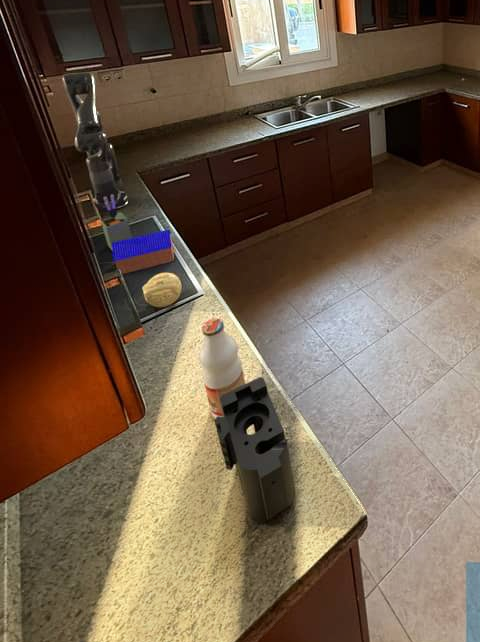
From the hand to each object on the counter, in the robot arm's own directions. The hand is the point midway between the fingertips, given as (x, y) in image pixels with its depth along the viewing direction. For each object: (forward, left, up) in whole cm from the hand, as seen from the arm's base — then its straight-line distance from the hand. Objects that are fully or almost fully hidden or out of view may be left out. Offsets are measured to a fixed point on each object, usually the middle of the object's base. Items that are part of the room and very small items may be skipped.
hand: (113, 216), depth 181 cm
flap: (0, +2, -1) cm, 2 cm away
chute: (0, 0, -14) cm, 14 cm away
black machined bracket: (+131, -9, -15) cm, 132 cm away
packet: (0, 0, -14) cm, 14 cm away
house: (+20, +4, -15) cm, 25 cm away
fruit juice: (+107, -4, -15) cm, 108 cm away
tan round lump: (+51, 0, -15) cm, 53 cm away
